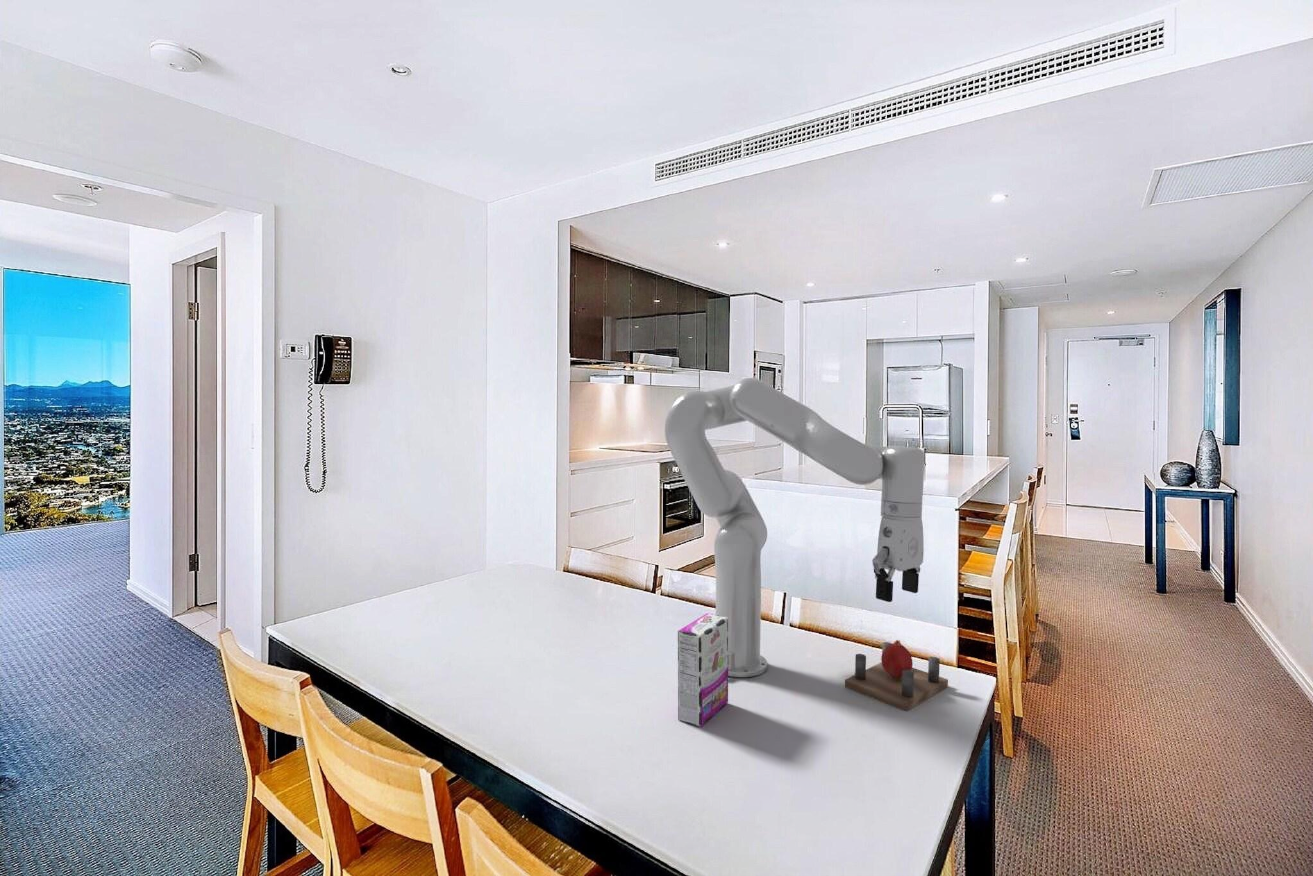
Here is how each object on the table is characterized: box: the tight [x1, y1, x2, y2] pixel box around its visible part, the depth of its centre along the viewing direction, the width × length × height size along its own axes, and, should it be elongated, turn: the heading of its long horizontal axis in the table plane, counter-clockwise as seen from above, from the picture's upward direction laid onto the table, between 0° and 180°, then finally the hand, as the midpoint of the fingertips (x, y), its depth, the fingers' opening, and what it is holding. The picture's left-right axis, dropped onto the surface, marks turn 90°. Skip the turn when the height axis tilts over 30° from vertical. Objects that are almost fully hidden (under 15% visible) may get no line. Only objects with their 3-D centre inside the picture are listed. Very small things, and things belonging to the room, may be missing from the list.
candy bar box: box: [677, 613, 729, 728], centre depth 116 cm, size 11×5×16 cm, turn 148°
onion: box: [880, 639, 913, 680], centre depth 127 cm, size 6×6×8 cm
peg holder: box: [844, 641, 949, 712], centre depth 127 cm, size 16×13×6 cm
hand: (897, 595), depth 127 cm, fingers open, 9 cm apart
